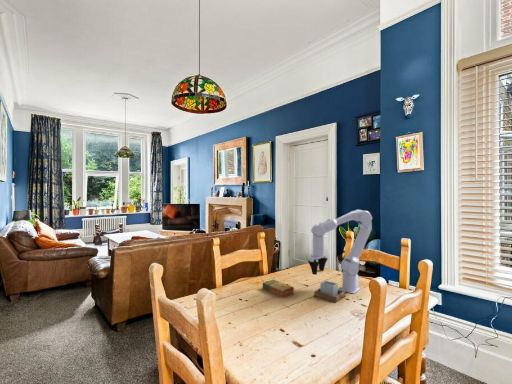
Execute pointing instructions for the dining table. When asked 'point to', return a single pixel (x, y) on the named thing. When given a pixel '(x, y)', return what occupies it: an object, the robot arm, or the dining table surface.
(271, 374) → the dining table surface
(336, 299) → the big crate
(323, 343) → the dining table surface
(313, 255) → the robot arm
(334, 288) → the small crate
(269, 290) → the carton
